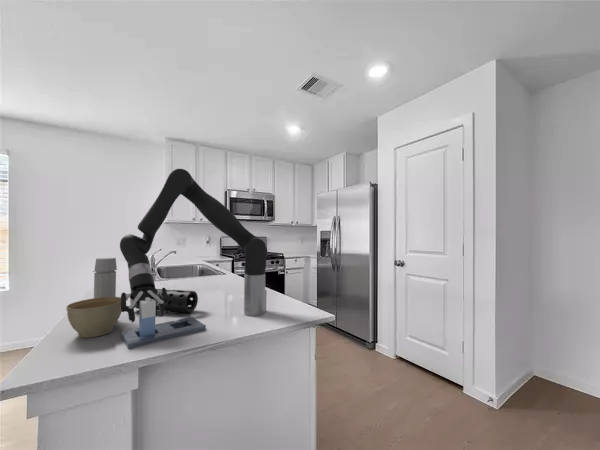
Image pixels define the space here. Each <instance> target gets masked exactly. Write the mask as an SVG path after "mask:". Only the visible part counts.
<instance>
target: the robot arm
mask: <svg viewBox="0 0 600 450" xmlns="http://www.w3.org/2000/svg"><path fill="white" fill-rule="evenodd" d="M180 195H182V196H183V197H184V198H185V199H187V200H189V202H191V204H193V205H194V206H195V207H196V209H197V210H198V211H199V212H200V213H201V214H202V216H203V217H204V218H205V219H207V220H206V221H209V223H211V224H212V226H213V227H215V228H216V229H218V230H219V231H221V232H222V233H223V234H224V235H226V236H228V237H229V238H231V239H232V240H233V241H234V242H235V243H236V244H237V245H238V246H239V247H240V248H241V249H242V251H244V268H243V269H244V272H243V273H244V278H243V279H244V280H243V282H244V284H243V287H244V289H243V290H244V291H243V314H244V315H246V316H252V317H253V316H254V317H255V316H261V315H264V314H265V313H266V312H267V291H268V290H267V289H266V270H267V269H266V268H267V251H268V250H267V245H266V243H265V241H264V239H261V238H258V237H257V236H256V235H254V234H253V233H251V231H249V230H248V229H246V227H244V225H242V223H241V222H240V221H239V219H238V218H237V217H236V215H234V213H232V211H231V210H229V208H227V207H226V206H225V205H224V204H223V203H222V202H221V201H219V200H218V199H216V198H215V197H213V196H212V195H210V194H209V193H208V192H206V191H205V190H204V189H203V188H202V187H201V186H200V185H199V184H198V183H197V182H196V180H195V179H194V178H193V176H192V175H191V173H190V171H189V172H188V171H187V170H186V169H184V168H175V169H173V170H172V171H170V173H169V175H168V176H167V178H166V181H165V183H164V185H163V187H162V189H161V190H160V192H159V194H158V196H157V198H156V199H155V201H154V203H152V204H151V206H150V207H149V209H148V211H147V212H146V213H145V214H144V216H143V218H142V219H141V221H140V222H139V223H138V224H137V230H139V231H140V232H141V233H142V234H143V235H142V237H140V236H137V235H134V234H125V235H124V236H123V237H122V238H121V239H120V242H119V249H120V252H121V254H122V256H123V257H124V259H125V261H126V263H127V269H128V282H129V288H130V293H126V292H122V293H121V294H120V298H121V313H124V312H126V313H127V314H128V315H127V316H128V320H129V321H131V323H134V322H136V316H135V315H136V314H135V309H136V308H135V307H136V306H137V304H140V301H142V300H145V298H147V297H149V298H150V299H153V300H154V299H155V301H156V305H157V306H159V310H158V312H159V316H160V318H162V317H164V315H165V313H166V311H165V307H164V305H167V304H168V301H169V298H168V295H167V292H166V289H167V288H166V287H162V288H160V289H161V290H157V289H158V288H156V285H155V279H154V275H153V270H152V268H151V263H150V260H149V257H148V255H147V254H148V253H149V251H151V248H152V245H153V242H154V240H155V239H154V238H155V236H156V233H157V232H158V230H159V229H160V228H161V226H162V225H163V223H164V222H165V220H166V218H167V216H168V215H169V212H170V211H171V208H172V207H173V205H174V203H175V202H176V200H177V199H178V197H180ZM157 294H159V295H160V296H162V299H163V300H161V299H160V298H159V297H158V296H157ZM130 298H131V299H132V300H133V302H132V303H130V305H127V301H128V300H129V299H130Z"/></svg>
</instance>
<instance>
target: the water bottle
mask: <svg viewBox="0 0 600 450" xmlns="http://www.w3.org/2000/svg"><path fill="white" fill-rule="evenodd" d="M94 264H95V265H94V269H93V271H92V272H93V273H94V275H93V277H94V279H93V280H94V281H93V298H100V297H117V295H116V291H117V284H116V283H117V270H118V269H117V267H118V266H117V259H116V257H98V258H96V259H95V263H94Z"/></svg>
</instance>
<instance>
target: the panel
mask: <svg viewBox="0 0 600 450" xmlns="http://www.w3.org/2000/svg"><path fill="white" fill-rule="evenodd" d="M206 329H207V328H206V324H204V323H202V322H201V321H199V320H198V319H196V318H195V317H193V316H190V317H185V318H181V319H175V320H174V319H173V320H170V321H166V322H161V323H155V334H152V335H147V336H143V337H139V327H137V328H131V329H128V330H122V331H120V337H121V339H122V341H123V342H124V345H125V346H126V348H127V349H128V350H130V349H133V348H138V347H142V346H145V345H150V344H154V343H158V342H161V341H167V340H170V339H174V338H178V337H182V336H187V335H191V334H194V333H200V332H203V331H206Z"/></svg>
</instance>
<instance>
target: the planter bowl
mask: <svg viewBox="0 0 600 450" xmlns="http://www.w3.org/2000/svg"><path fill="white" fill-rule="evenodd" d="M65 309H66V312H67V319H68V322H69V324H70V326H71V327H72V329H73V330H74V331H75V332H76V333H77V335H78V337H79V338H84V339H86V338H87V339H88V338H94V337H95V338H96V337H100V336H104V335H106V334H109V333H110V332H112V331H113V329H114V328H113V327H114V326H115V325H116V324H117V322H118V320H119V319H120V316H121V314H122V312H121V296H116V297H100V298H94V297H93V298H88V299H87V298H86V299H83V300H79V301H75V302H71V303H70V304H67V306H66V307H65Z"/></svg>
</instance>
